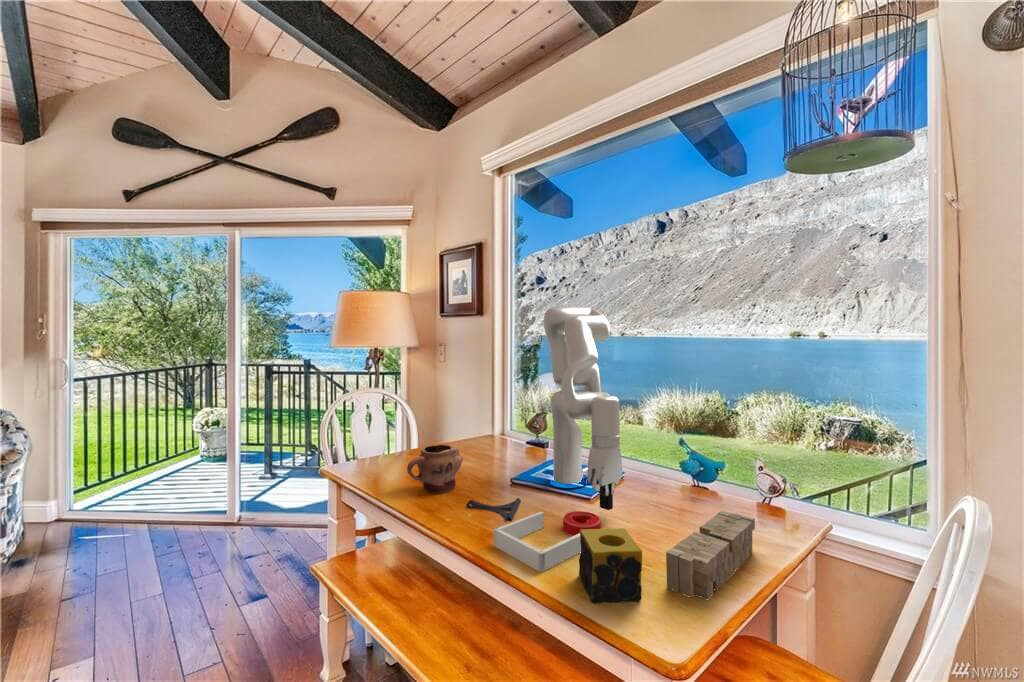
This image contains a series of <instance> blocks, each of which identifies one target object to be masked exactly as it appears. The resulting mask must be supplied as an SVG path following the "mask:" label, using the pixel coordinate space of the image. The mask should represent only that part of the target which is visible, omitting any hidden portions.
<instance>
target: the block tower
mask: <svg viewBox="0 0 1024 682" xmlns="http://www.w3.org/2000/svg"><path fill="white" fill-rule="evenodd" d="M755 520H756V519H755V518H754V517H750V516H748V515H747V516H746V515H742V514H740V513H739V514H738V513H735V512H731V511H727V510H723V509H722V510H719V512H717V514H715V516H713V517H711V518H710V519H709V520H708V521H706V522H705V523H704V524H701V525H700V526H699V532H698V531H693V532H692V533H691V534H689V535H688V536H687V537H685V538H684V539H682V540H680V541H679V542H678V543H677V544H676V545H674V546H673V547H672V548H670V549H668V550H667V551H665V554H666V555H665V557H666V559H665V561H666V564H665V565H666V567H665V568H666V588H667V587H668V588H667V589H669V588H670V589H669V590H671V589H673V590H675V591H674V592H676V591H677V592H676V593H679V594H680V593H682V594H681V595H683V594H685V595H687V596H690V597H693V596H694V595H695V596H696V595H698V596H701V597H703V598H705V599H709V597H712V596H713V595H714V591H715V590H717V589H718V588H719V587H720V586H723V585H724V584H725V583H726V582H727V581H728V580H729V579H730V578H731V577H732V576H733V575H734V574H735V573H736V571H737V570H738V569H737V568H739V567H740V566H741V565H742V566H743V565H744V564H745V562H746V561H747V560H748V559H749V558H750V556H752V554H753V531H754V530H755V529H756V521H755ZM751 553H752V554H751ZM748 557H749V558H748ZM747 558H748V559H747ZM746 559H747V560H746ZM745 560H746V561H745ZM742 566H741V567H742ZM741 567H740V568H741ZM740 568H739V569H740ZM735 570H736V571H735ZM734 572H735V573H734ZM733 573H734V574H733ZM732 574H733V575H732ZM731 575H732V576H731ZM730 576H731V577H730ZM729 577H730V578H729ZM728 578H729V579H728ZM727 579H728V580H727ZM726 580H727V581H726ZM725 581H726V582H725ZM723 583H724V584H723ZM722 584H723V585H722ZM713 589H715V590H713ZM719 589H720V588H719ZM719 589H718V590H719ZM673 590H672V591H673ZM718 590H717V591H718ZM712 594H713V595H712ZM685 595H684V596H685ZM711 595H712V596H711ZM687 596H686V597H687ZM695 596H694V597H695ZM698 596H697V597H698ZM690 597H689V598H690ZM694 597H693V598H694ZM701 597H700V598H701ZM703 598H702V599H703ZM705 599H704V600H705ZM709 600H710V599H709Z"/></svg>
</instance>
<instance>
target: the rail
mask: <svg viewBox="0 0 1024 682" xmlns="http://www.w3.org/2000/svg"><path fill="white" fill-rule="evenodd" d="M544 515H545V514H544V512H543V511H539V512H536V513H533V514H531V515H528V516H526V517H522V518H521V519H517V520H515V521H511V522H510V523H508V524H504V525H502V526H500V527H497V528H496V527H495V528H494V529H493V547H495V548H497V549H498V550H500V551H502V552H504V553H506V554H507V555H510V556H511V557H513V558H515V559H516V560H517V561H520V562H522V563H524V564H525V565H528V566H529V567H531V568H532V569H535V570H536V571H538V572H539V573H541V572H542V573H543V571H544V572H545V570H546V571H547V569H548V570H550V569H552V568H553V566H554V565H555V566H557V565H559V564H561V563H563V562H565V561H567V560H569V559H571V558H573V557H575V556H577V555H579V554H580V552H581V543H580V533H579V534H577V535H575V536H572V535H571V536H570V537H567V538H566V539H564V540H562V541H560V542H558V543H555V544H552V545H550V546H549V547H546V548H545V549H542V550H541V549H539V548H537V547H535V546H534V545H531V544H530V543H527V542H525V541H524V540H521V538H523V537H525V536H528V535H530V534H533V533H535V532H537V531H540V530H543V529H544V528H545V525H544V523H545V522H544V521H545V520H544V517H545V516H544ZM539 529H540V530H539ZM532 532H533V533H532ZM578 553H579V554H578ZM576 554H577V555H576ZM574 555H575V556H574ZM572 556H573V557H572ZM570 557H571V558H570ZM568 558H569V559H568ZM566 559H567V560H566ZM564 560H565V561H564ZM562 561H563V562H562ZM560 562H561V563H560ZM558 563H559V564H558ZM556 564H557V565H556ZM555 566H554V567H555ZM551 567H552V568H551ZM549 568H550V569H549Z"/></svg>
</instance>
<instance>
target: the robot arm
mask: <svg viewBox="0 0 1024 682" xmlns="http://www.w3.org/2000/svg"><path fill="white" fill-rule="evenodd" d="M543 329H544V332H545V336H546V339H547V341H548V343H549V347H550V348H549V349H550V358H551V360H550V361H551V369H552V371H551V372H552V379H553V381H554V383H555V385H557V386H561V387H560V390H558V391H555V392H554V393H553V394H552V395H551V396H550V409H551V415H552V416H551V418H552V426H553V427H552V428H553V429H552V431H553V433H552V434H553V441H552V442H553V452H552V453H553V454H552V455H553V476H554V480H555V481H556V482H559V483H563V484H571V483H579V482H581V480H582V478H584V475H585V474H587V482H588V483H590V484H591V485H592V486H591V490H594V491H597V494H598V495H599V508H600V509H604V510H606V511H610V510H613V509H614V505H613V504H614V499H613V498H614V496H613V495H614V493H615V488H616V485H618V484H619V483H620V480H621V478H622V477H623V460H622V453H621V442H620V438H621V435H620V399H619V398H618V397H617V396H614V395H610V393H608V392H603V391H602V387H601V378H600V377H601V376H600V375H601V374H600V370H599V366H598V364H597V363H598V361H599V355H598V350H597V348H596V344H595V342H604V341H607V339H608V338H609V337H610V332H611V329H610V323H609V321H608V319H607V318H606V316H605V315H604V314H603V313H601V312H600V311H598V310H597V309H596V308H594V307H591V306H569V305H568V306H566V305H565V306H564V305H562V306H561V305H559V306H553V307H550V308H548V309H547V310H546V311H545V313H544V316H543ZM576 386H577V387H579V386H582V387H583V388H584V389H575V387H576ZM584 419H585V420H587V419H589V420H591V446H589V453H588V458H587V459H588V460H587V467H582V466H583V465H582V464H583V463H582V461H583V458H582V457H583V454H582V450H583V449H582V448H583V447H582V445H583V440H582V439H583V437H582V436H583V434H582V429H581V427H580V426H579V425H578V423H577V422H576V420H584Z"/></svg>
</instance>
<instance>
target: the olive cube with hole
mask: <svg viewBox="0 0 1024 682" xmlns="http://www.w3.org/2000/svg"><path fill="white" fill-rule="evenodd" d="M580 543H581V553H579V560H578V564H579V565H578V577H580V578H579V579H580V580H581V584H582V583H583V584H582V585H583V588H584V590H585V592H586V594H587V593H588V594H587V596H588V595H589V596H588V597H589V601H590V602H591V603H593V604H603V603H602V602H607V603H610V602H614V603H625V602H626V603H627V602H641V600H642V591H643V590H642V589H643V588H642V568H643V550H642V549H641V547H640V545H638V544H637V543H636V542H635V540H634V539H633V538H632V536H631V535H630V534H629V531H627V529H626V528H625V527H624V528H622V527H621V528H601V529H582V530H580ZM621 601H622V602H621ZM623 601H625V602H623ZM596 602H598V603H596ZM599 602H601V603H599Z"/></svg>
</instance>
